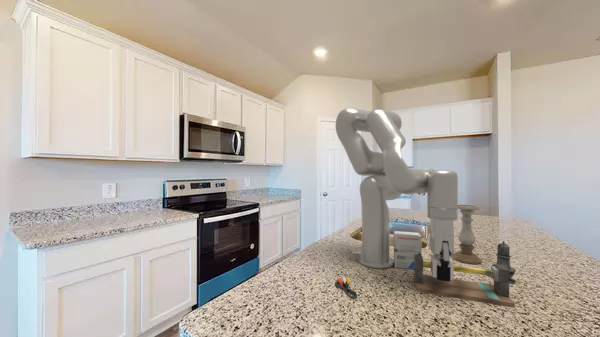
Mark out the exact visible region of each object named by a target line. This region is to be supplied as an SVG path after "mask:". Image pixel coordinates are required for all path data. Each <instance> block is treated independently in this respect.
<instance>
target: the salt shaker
mask: <svg viewBox="0 0 600 337" xmlns="http://www.w3.org/2000/svg"><path fill="white" fill-rule="evenodd" d="M495 255H496V263H492V264H491V265H490V267H491V266H494V264H501V265H504V266H505V267H506V268H507V269H508V270H509V284H514V283H515V282H516V281H515V279H513V278H512V277H514V275H515V273H516V272H517V270H516V269H515V268H514V267H512V266H511V262H510V261H511V258H512V256H511V255H510V245H509V244H506V243H505V240H502V242H501V243H498V244H497V252H496V254H495Z"/></svg>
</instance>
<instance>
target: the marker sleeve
mask: <svg viewBox="0 0 600 337" xmlns="http://www.w3.org/2000/svg"><path fill="white" fill-rule="evenodd" d="M441 259H443V257H441ZM430 262H431V263H432V268H430V273H431V274H432V275H431V276H433V277H436V278H437V265H438V255H434V254H433V253H432V254H430ZM454 264H455V262H454V260H453V259H452V257H450V280H454V279H455V278H454V272H455V271H454V266H455V265H454Z"/></svg>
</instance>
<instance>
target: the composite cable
mask: <svg viewBox="0 0 600 337" xmlns="http://www.w3.org/2000/svg"><path fill="white" fill-rule="evenodd" d="M350 283H351V279H350V277H349V276H347V278H346V276H344V275H342V278H341V277H340V278H339V276H338V277H337V280H336V281H335V283H334V286H335V287H336V288H339V289H340V290H342V291H343V292H345V294H346V295H347V297H348V298H350V299H353V300H356V299H358V294H357V292H356V291H354V290H352V289H350V288H349V286H350Z"/></svg>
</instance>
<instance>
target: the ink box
mask: <svg viewBox="0 0 600 337" xmlns="http://www.w3.org/2000/svg"><path fill="white" fill-rule="evenodd" d="M414 254H416V255H422V235H421V234H420V233H419V232H412V231H411V232H410V231H402V230H401V231H399V230H394V231H393V260H394V265H393V266H394V268H397V269H398V268H399V269H409V270H414Z"/></svg>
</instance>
